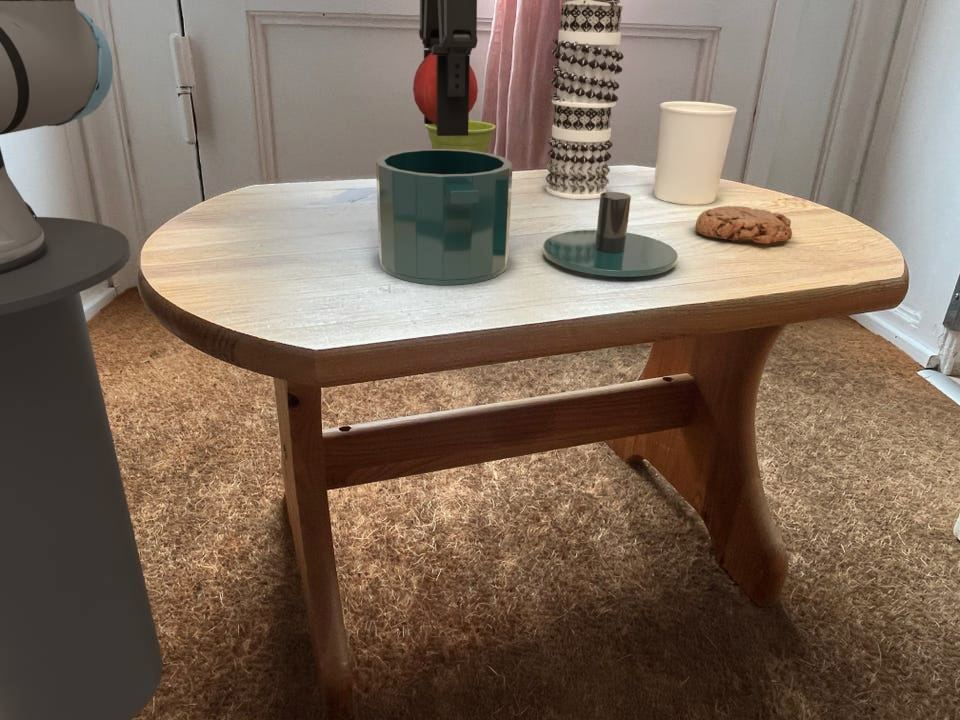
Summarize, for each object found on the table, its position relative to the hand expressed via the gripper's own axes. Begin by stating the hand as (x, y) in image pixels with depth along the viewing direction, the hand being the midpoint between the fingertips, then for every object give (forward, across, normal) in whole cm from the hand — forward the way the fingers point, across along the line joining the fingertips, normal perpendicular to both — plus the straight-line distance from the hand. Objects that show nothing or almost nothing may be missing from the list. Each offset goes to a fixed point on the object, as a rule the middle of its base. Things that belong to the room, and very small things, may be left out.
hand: (445, 128), depth 68 cm
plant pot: (+13, +30, -8) cm, 34 cm away
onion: (0, 0, 0) cm, 0 cm away
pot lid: (+12, -2, -17) cm, 21 cm away
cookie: (+13, +4, -36) cm, 39 cm away
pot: (+13, 0, 0) cm, 13 cm away
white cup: (+13, +22, -38) cm, 46 cm away
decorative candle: (+13, +28, -24) cm, 39 cm away
